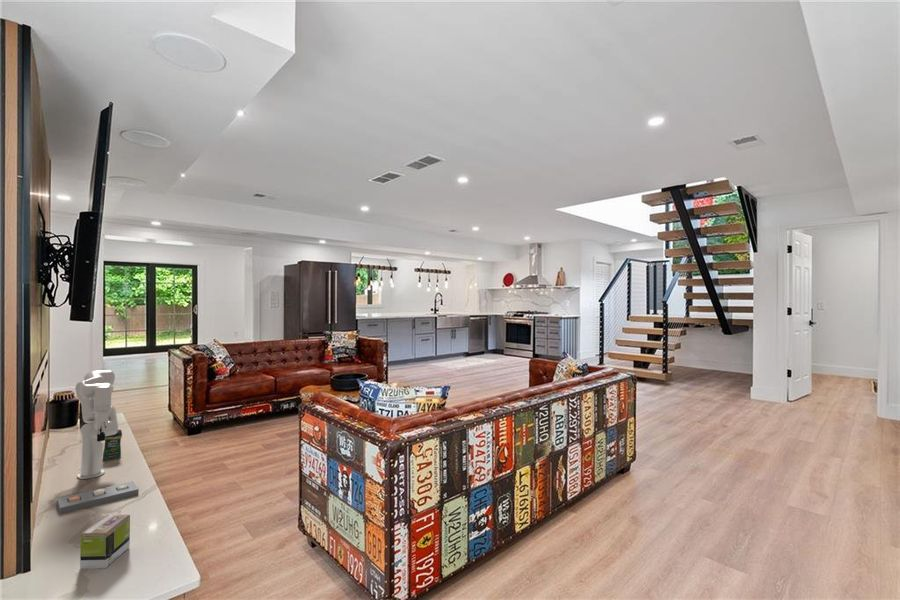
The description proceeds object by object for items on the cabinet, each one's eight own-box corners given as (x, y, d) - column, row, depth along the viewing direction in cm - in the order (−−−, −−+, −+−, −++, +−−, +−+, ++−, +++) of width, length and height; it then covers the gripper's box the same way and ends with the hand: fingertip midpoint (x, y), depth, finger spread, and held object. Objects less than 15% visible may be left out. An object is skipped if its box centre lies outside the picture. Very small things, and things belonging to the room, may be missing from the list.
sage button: (116, 492, 235) (116, 486, 235) (126, 489, 238) (126, 484, 238) (118, 494, 232) (118, 489, 232) (127, 492, 235) (128, 487, 235)
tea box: (105, 548, 185) (107, 513, 185) (130, 547, 186) (131, 513, 186) (78, 569, 170) (80, 532, 170) (105, 569, 171) (107, 532, 171)
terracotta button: (67, 503, 220) (68, 498, 220) (79, 501, 224) (79, 495, 224) (69, 506, 217) (69, 500, 217) (80, 504, 221) (80, 498, 221)
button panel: (56, 504, 221) (57, 498, 221) (132, 486, 244) (132, 481, 244) (59, 514, 211) (60, 507, 211) (138, 494, 235) (138, 489, 235)
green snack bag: (102, 461, 278) (103, 432, 278) (103, 457, 285) (104, 429, 285) (120, 458, 284) (122, 430, 284) (121, 455, 290) (122, 427, 290)
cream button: (92, 496, 228) (93, 490, 228) (103, 493, 231) (103, 488, 231) (94, 499, 225) (94, 493, 225) (104, 496, 228) (105, 490, 228)
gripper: (91, 406, 242) (90, 438, 242) (96, 411, 232) (94, 445, 232) (108, 404, 248) (106, 436, 247) (113, 409, 237) (111, 442, 237)
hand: (100, 440), depth 240 cm, fingers closed
